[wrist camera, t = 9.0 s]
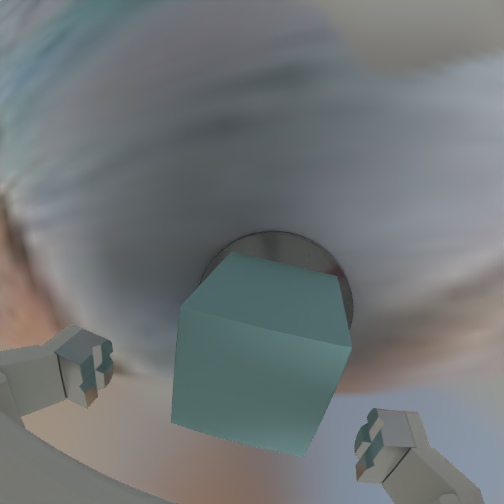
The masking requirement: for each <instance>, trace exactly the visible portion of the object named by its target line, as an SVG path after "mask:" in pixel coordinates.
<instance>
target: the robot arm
mask: <svg viewBox="0 0 504 504" xmlns="http://www.w3.org/2000/svg"><path fill="white" fill-rule="evenodd" d="M112 352H113V350H112V343H111V342H110V341H109V340H108V339H105V338H103V337H101V336H98V335H96V334H94V333H92V332H89V331H87V330H84V329H82V328H80V327H78V326H76V325H69V326H67V327H66V328H65V329H63V330H62V331H61V332H59V333H58V334H57V335H55V336H54V337H53V338H52V339H50V340H49V341H48V342H46V343H45V344H44V345H43V346H40V345H33V346H28V347H22V348H16V349H11V350H5V351H0V504H177V503H174V502H171V501H168V500H165V499H162V498H159V497H157V496H154V495H151V494H149V493H146V492H143V491H141V490H139V489H136V488H134V487H131V486H129V485H126V484H124V483H122V482H120V481H118V480H115V479H113V478H111V477H109V476H107V475H105V474H102V473H101V472H99V471H97V470H95V469H92V468H91V467H89V466H87V465H85V464H83V463H81V462H79V461H78V460H76V459H74V458H72V457H70V456H68V455H67V454H65V453H63V452H62V451H60V450H58V449H56V448H55V447H53V446H51V445H50V444H48V443H47V442H45V441H44V440H42V439H40V438H39V437H37V436H36V435H34V434H33V433H31V432H30V431H28V430H27V429H26V428H25V426H24V423H23V421H22V418H21V417H22V416H25V415H27V414H30V413H33V412H35V411H38V410H41V409H43V408H46V407H48V406H51V405H53V404H56V403H59V402H61V401H64V400H65V399H66V398H67V399H69V400H71V401H73V402H75V403H77V404H79V405H81V406H83V407H85V408H88V407H89V406H90V405H91V404H92V403H93V402H94V400H95V399H96V398H97V397H98V393H97V392H98V391H97V390H100V389H104V388H105V387H106V386H107V385H108V384H109V382H110V380H111V378H112V375H113V369H114V366H113V361H112V359H111V358H110V356H109V355H110V354H111V353H112ZM367 420H368V423H367V424H365V425H364V426H362V427H361V428H360V430H359V432H358V434H357V437H356V440H355V448H354V449H355V455H356V456H357V457H358V459H359V461H358V463H357V464H356V477H357V482H367V483H381V484H382V486H383V488H384V489H385V490H386V492H387V493H388V495H389V496H390V498H391V499H392V500H393V502H394V503H395V504H484V501H483V497H482V494H481V491H480V489H479V488H478V487H477V486H476V485H475V484H474V483H472V482H471V481H470V480H469V479H468V478H467V477H466V476H465V475H463V474H462V473H461V472H460V471H459V470H458V469H456V468H455V467H454V466H453V465H452V464H451V463H450V462H449V461H448V460H447V459H446V458H444V457H443V456H442V455H441V454H440V453H439V452H438V451H437V450H436V449H434V448H430V445H429V442H428V439H427V436H426V433H425V430H424V426H423V423H422V420H421V417H420V414H419V413H418V412H412V411H395V410H386V409H385V410H384V409H376V408H373V409H372V410H371V411H370V413H369V415H368V416H367Z"/></svg>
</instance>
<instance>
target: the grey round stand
mask: <svg viewBox="0 0 504 504" xmlns="http://www.w3.org/2000/svg"><path fill="white" fill-rule="evenodd" d="M231 252H236V253H240V254H244V255H249V256H253V257H257V258H262V259H266V260H270V261H274V262H279V263H283V264H287V265H292V266H296V267H300V268H304V269H309V270H313V271H317V272H322V273H326V274H330V275H335V276H337V277H338V282H339V286H340V290H341V295H342V299H343V304H344V309H345V313H346V318H347V323H348V328H349V329H350V326H351V322H352V316H353V299H352V294H351V290H350V286H349V283H348V280H347V278H346V276H345V274H344V272H343V270H342V268H341V267H340V265H339V264H338V262H337V261H336V260H335V259H334V258H333V257H332V255H331V254H330V253H329V252H327V251H326V250H325V249H324V248H322V247H321V246H320V245H318V244H316V243H315V242H313V241H311V240H309V239H307V238H305V237H302V236H299V235H296V234H292V233H287V232H276V231H269V232H259V233H255V234H251V235H248V236H245V237H243V238H240V239H238V240H237V241H235V242H233V243H231V244H230V245H229V246H227V247H226V248H225V249H223V250H222V251H221V252H220V253H219V254H218V255H217V256H216V257H215V258H214V259H213V260H212V262H211V263H210V264H209V266H208V267H207V269H206V271H205V273H204V274H203V277H202V279H201V282H200V284H201V283H202V282H203V281H204V280H205V279H206V278H207V277H208V276H209V275H210V274H211V273H212V272H213V271H214V270H215V269H216V267H217V266H218V265H219V264H220V263H221V262H222V261H223V260H224V259H225V258H226V257H227V256H228V255H229V254H230V253H231Z"/></svg>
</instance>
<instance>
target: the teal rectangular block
mask: <svg viewBox="0 0 504 504" xmlns="http://www.w3.org/2000/svg"><path fill="white" fill-rule="evenodd" d="M351 350H352V343H351V338H350V333H349V328H348V323H347V318H346V313H345V309H344V304H343V299H342V295H341V290H340V286H339V282H338V277H337V276H335V275H330V274H326V273H322V272H317V271H313V270H309V269H304V268H300V267H296V266H292V265H287V264H283V263H279V262H274V261H270V260H266V259H262V258H257V257H253V256H249V255H244V254H240V253H236V252H231V253H230V254H229V255H228V256H227V257H226V258H225V259H224V260H223V261H222V262H221V263H220V264H219V265H218V266H217V267H216V269H215V270H214V271H213V272H212V273H211V274H210V275H209V276H208V277H207V278H206V279H205V280H204V281H203V282H202V283H201V284H200V285H199V287H198V288H197V289H196V290H195V291H194V292H193V293H192V294H191V295H190V296H189V297H188V298H187V299H186V300H185V301H184V303H183V304H182V305H181V306H180V313H179V323H178V333H177V344H176V356H175V368H174V382H173V397H172V415H171V422H172V423H174V424H177V425H180V426H183V427H186V428H189V429H192V430H195V431H199V432H202V433H205V434H208V435H212V436H215V437H219V438H223V439H226V440H229V441H233V442H237V443H241V444H245V445H249V446H253V447H258V448H263V449H266V450H271V451H276V452H281V453H286V454H292V455H297V456H304V455H305V453H306V451H307V449H308V447H309V445H310V443H311V441H312V439H313V437H314V435H315V433H316V431H317V429H318V427H319V425H320V423H321V421H322V419H323V416H324V414H325V412H326V410H327V408H328V405H329V403H330V401H331V399H332V396H333V394H334V392H335V389H336V387H337V385H338V382H339V380H340V378H341V375H342V373H343V370H344V368H345V365H346V363H347V360H348V358H349V355H350V353H351Z"/></svg>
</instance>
